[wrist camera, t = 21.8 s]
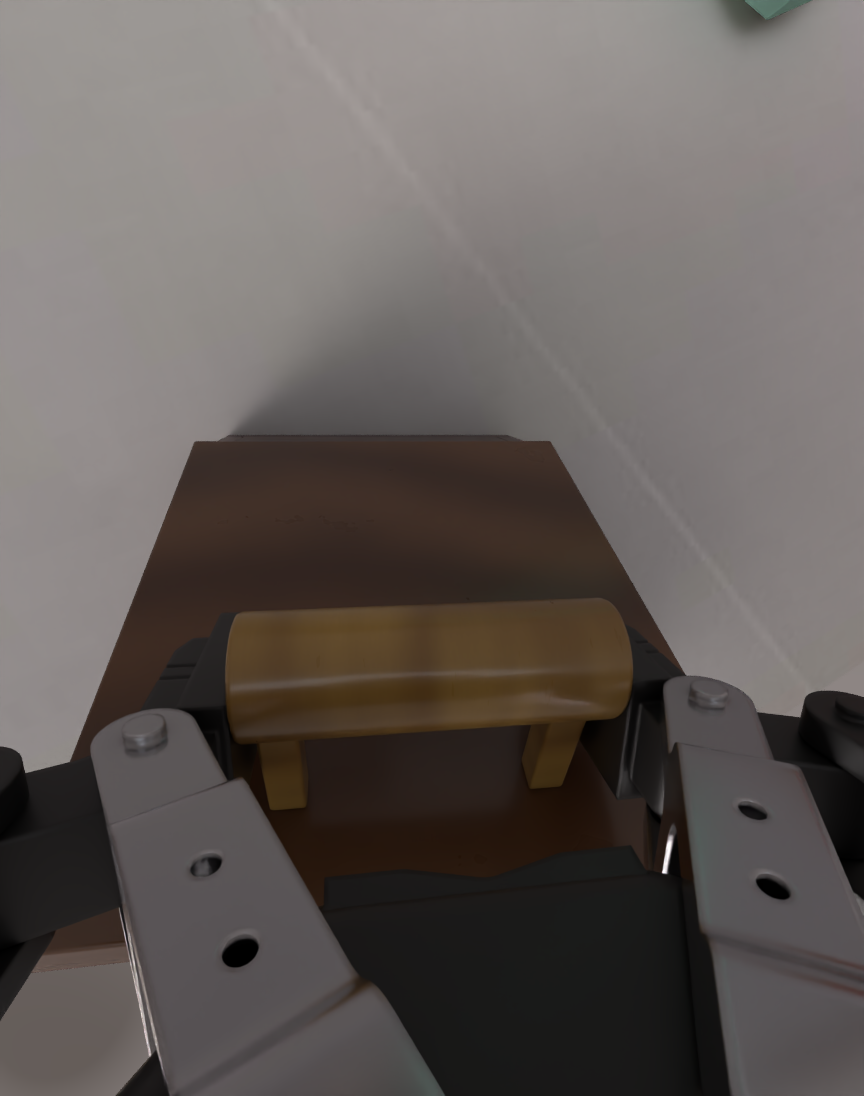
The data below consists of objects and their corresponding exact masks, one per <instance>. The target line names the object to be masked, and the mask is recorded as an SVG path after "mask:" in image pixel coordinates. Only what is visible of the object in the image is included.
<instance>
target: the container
mask: <svg viewBox="0 0 864 1096" xmlns="http://www.w3.org/2000/svg"><path fill="white" fill-rule="evenodd" d="M809 1H812V0H745V2H746V3H747V4H749V5H750V6H751V7H752V8H753V9H754V10H756V11H757V12H758V13H759V14H760V15H761V16H763V17H764V18H765V19H766V20H768V19H771V18H774V17H776V16H778V15H780V14H782V13H785V12H787V11H789V10H791V9H794V8H796V7H798V6H800V5H803V4H805V3H807V2H809Z"/></svg>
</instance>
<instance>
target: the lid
mask: <svg viewBox="0 0 864 1096" xmlns="http://www.w3.org/2000/svg"><path fill="white" fill-rule="evenodd" d="M233 612H241V613H238V614H237V615H236V616H235V618H234V621H233V623H232V626H231V629H230V633H229V638H228V645H227V653H226V666H225V699H226V710H227V718H228V724H229V728H230V732H231V735H232V737H233V740H234V741H235V742H236V743H238V744H241V745H243V744H257V752H256V757H255V761H254V766H253V770H252V775H251V780H250V784H249V787H250V789H251V791H252V793H253V794H254V796H255V798H256V800H257V801H258V803H259V805H260V807H261V808H262V810H263V812H264V814H265V815H266V817H267V819H268V821H269V822H270V824H271V826H272V827H273V829H274V831H275V833H276V834H277V836H278V838H279V840H280V841H281V843H282V845H283V847H284V848H285V850H286V852H287V854H288V855H289V857H290V859H291V861H292V862H293V864H294V866H295V868H296V869H297V871H298V873H299V875H300V876H301V878H302V880H303V882H304V883H305V885H306V887H307V889H308V890H309V892H310V894H311V895H312V897H313V899H314V901H315V902H316V904H317V906H318V907H319V906H322V905H324V878H325V877H332V876H341V875H351V874H360V873H370V872H379V871H389V870H398V869H410V870H419V871H428V872H437V873H446V874H456V875H465V876H474V877H492V876H496V875H499V874H502V873H504V872H507V871H510V870H513V869H515V868H518V867H521V866H524V865H527V864H529V863H532V862H535V861H538V860H540V859H543V858H546V857H549V856H552V855H554V854H557V853H560V852H569V851H579V850H589V849H598V848H608V847H617V846H627V845H631V846H632V848H633V849H634V851H635V853H636V854H637V856H638V858H639V859H640V861H641V863H642V864H643V866H644V846H643V818H644V812H645V805H646V801H645V799H644V798H634V799H623V800H617V799H616V797H615V796H614V794H613V793H612V791H611V790H610V788H609V786H608V785H607V783H606V782H605V780H604V778H603V777H602V775H601V774H600V772H599V770H598V769H597V767H596V766H595V764H594V763H593V761H592V759H591V758H590V756H589V755H588V753H587V751H586V750H585V748H584V747H583V745H582V744H581V742H580V740H579V739H580V736H581V733H582V731H583V728H584V725H585V723H586V721H590V720H605V719H614V718H616V717H618V716H620V715H621V714H622V713H623V712H624V710H625V709H626V707H627V705H628V702H629V700H630V696H631V691H632V684H633V659H632V651H631V645H630V641H629V636H628V633H627V630H626V627H625V624H626V625H628V626H630V627H632V628H634V629H636V630H637V631H638V632H639V633H640V634H641V635H642V636H643V637H644V638H646V639H647V640H648V643H651V644H652V645H653V646H654V647H656V648H657V649H658V650H659V653H662V654H663V655H664V656H665V657H667V658H668V659H669V660H670V661H671V662H672V663H673V664H674V665H675V666H677V667H678V668H679V669H680V670H681V671H682V672H683V673H684V671H683V670H682V668H681V666H680V665H679V663H678V661H677V659H676V658H675V656H674V654H673V652H672V651H671V649H670V647H669V646H668V644H667V642H666V640H665V639H664V637H663V635H662V633H661V632H660V630H659V628H658V627H657V625H656V623H655V621H654V620H653V618H652V616H651V614H650V613H649V611H648V609H647V608H646V606H645V604H644V602H643V601H642V599H641V597H640V595H639V594H638V592H637V590H636V589H635V587H634V585H633V583H632V582H631V580H630V578H629V576H628V575H627V573H626V571H625V569H624V568H623V566H622V564H621V563H620V561H619V559H618V557H617V556H616V554H615V552H614V550H613V549H612V547H611V545H610V544H609V542H608V540H607V538H606V537H605V535H604V533H603V531H602V530H601V528H600V526H599V525H598V523H597V521H596V519H595V518H594V516H593V514H592V512H591V511H590V509H589V507H588V506H587V504H586V502H585V500H584V499H583V497H582V495H581V493H580V492H579V490H578V488H577V487H576V485H575V483H574V481H573V480H572V478H571V476H570V474H569V473H568V471H567V469H566V468H565V466H564V464H563V462H562V461H561V459H560V457H559V455H558V454H557V452H556V450H555V449H554V447H553V445H552V443H551V442H550V441H196V442H194V445H193V447H192V450H191V452H190V455H189V458H188V460H187V463H186V465H185V468H184V470H183V473H182V476H181V478H180V481H179V483H178V486H177V488H176V491H175V493H174V496H173V499H172V501H171V504H170V506H169V509H168V511H167V514H166V517H165V519H164V522H163V524H162V527H161V529H160V532H159V535H158V537H157V540H156V542H155V545H154V547H153V550H152V553H151V555H150V558H149V560H148V563H147V565H146V568H145V570H144V573H143V576H142V578H141V581H140V583H139V586H138V588H137V591H136V594H135V596H134V599H133V601H132V604H131V606H130V609H129V612H128V614H127V617H126V619H125V622H124V624H123V627H122V629H121V632H120V635H119V637H118V640H117V642H116V645H115V647H114V650H113V653H112V655H111V658H110V660H109V663H108V665H107V668H106V671H105V673H104V676H103V678H102V681H101V683H100V686H99V689H98V691H97V694H96V696H95V699H94V701H93V704H92V706H91V709H90V712H89V714H88V717H87V719H86V722H85V724H84V727H83V730H82V732H81V735H80V737H79V740H78V742H77V745H76V748H75V750H74V753H73V755H72V758H71V760H70V762H72V761H75V760H79V759H82V758H84V757H87V756H90V755H91V752H90V746H91V743H92V741H93V739H94V737H95V736H96V735H97V734H98V733H99V732H100V731H101V730H102V729H103V728H105V727H106V726H107V725H109V724H110V723H112V722H114V721H116V720H118V719H120V718H122V717H125V716H127V715H130V714H133V713H136V712H139V711H140V710H141V708H142V706H143V705H144V703H145V701H146V699H147V698H148V696H149V694H150V693H151V691H152V689H153V687H154V686H155V684H156V682H157V680H159V679H160V678H159V677H160V675H161V674H162V672H163V670H164V668H166V665H167V663H168V661H169V660H170V658H171V656H172V655H173V653H174V651H175V650H177V649H178V648H179V647H181V646H182V645H184V644H185V643H187V642H188V641H189V640H191V639H192V638H204V637H210V634H211V632H212V630H213V628H214V626H215V624H216V622H217V620H218V618H219V616H220V614H221V613H233ZM684 674H685V673H684ZM123 962H130V959H129V954H128V950H127V945H126V940H125V935H124V931H123V926H122V921H121V916H120V912H119V908H116V909H113V910H110V911H108V912H105V913H102V914H99V915H97V916H94V917H91V918H88V919H86V920H83V921H80V922H77V923H74V924H72V925H69V926H66V927H63V928H61V929H58V930H56V932H55V935H54V937H53V939H52V940H51V942H50V944H49V946H48V947H47V949H46V950H45V952H44V953H43V955H42V956H41V958H40V960H39V961H38V963H37V964H36V966H35V967H34V969H33V970H32V972H31V973H36V972H45V971H53V970H62V969H71V968H79V967H88V966H97V965H105V964H114V963H123Z"/></svg>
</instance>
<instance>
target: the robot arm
mask: <svg viewBox="0 0 864 1096" xmlns="http://www.w3.org/2000/svg"><path fill="white" fill-rule="evenodd" d="M238 613H241V612H233V613H221V614H220V616H219V618H218V620H217V622H216V624H215V626H214V628H213V630H212V632H211V634H210V637H204V638H192V639H191V640H189V641H188V642H187V643H185V644H184V645H182V646H181V647H179V648H178V649H177V650H175V651H174V653H173V655H172V656H171V658H170V660H169V661H168V663H167V665H166V668H164V670H163V672H162V674H161V675H160V677H159V678H160V679H159V680H157V682H156V684H155V686H154V687H153V689H152V691H151V693H150V694H149V696H148V698H147V699H146V701H145V703H144V705H143V706H142V708H141V710H140V711H139V712H136V713H133V714H130V715H127V716H125V717H122V718H120V719H118V720H116V721H114V722H112V723H110V724H109V725H107V726H106V727H105V728H103V729H102V730H101V731H100V732H99V733H98V734H97V735H96V736H95V737H94V739H93V741H92V743H91V746H90V752H91V755H90V756H87V757H84V758H82V759H79V760H75V761H72V762H68V763H64V764H60V765H56V766H53V767H49V768H45V769H41V770H37V771H33V772H29V773H25V770H24V766H23V761H22V757H21V756H20V754H19V753H18V752H17V751H15V750H13V749H11V748H7V747H0V1020H1V1018H2V1017H3V1015H4V1014H5V1012H6V1011H7V1009H8V1008H9V1006H10V1005H11V1003H12V1001H13V1000H14V998H15V997H16V995H17V994H18V992H19V991H20V989H21V988H22V986H23V984H24V983H25V981H26V980H27V978H28V976H29V975H30V973H31V972H32V970H33V969H34V967H35V966H36V964H37V963H38V961H39V960H40V958H41V956H42V955H43V953H44V952H45V950H46V949H47V947H48V946H49V944H50V942H51V940H52V939H53V937H54V935H55V932H56V930H58V929H61V928H63V927H66V926H69V925H72V924H74V923H77V922H80V921H83V920H86V919H88V918H91V917H94V916H97V915H99V914H102V913H105V912H108V911H110V910H113V909H116V908H119V912H120V916H121V921H122V926H123V931H124V935H125V940H126V945H127V950H128V954H129V959H130V964H131V968H132V973H133V978H134V983H135V987H136V992H137V997H138V1002H139V1007H140V1011H141V1016H142V1021H143V1027H144V1032H145V1036H146V1042H147V1047H148V1052H149V1058H148V1059H147V1061H146V1062H145V1063H144V1064H143V1065H142V1066H141V1068H140V1069H139V1070H138V1071H137V1072H136V1073H135V1074H134V1075H133V1077H132V1078H131V1079H130V1080H129V1081H128V1082H127V1083H126V1085H125V1086H124V1087H123V1088H122V1089H121V1090H120V1091H119V1092H118V1094H117V1095H116V1096H864V697H861V696H858V695H854V694H849V693H844V692H838V691H817V692H812V693H810V694H808V695H807V696H806V698H805V700H804V705H803V709H802V713H801V717H800V718H799V717H792V716H784V715H775V714H767V713H759V712H757V711H756V708H755V705H754V703H753V701H752V700H751V699H750V697H749V696H747V695H746V694H745V693H744V692H742V691H741V690H739V689H738V688H736V687H734V686H732V685H730V684H727V683H725V682H722V681H719V680H715V679H712V678H707V677H701V676H686V675H685V674H684V673H683V672H682V671H681V670H680V669H679V668H678V667H677V666H675V665H674V664H673V663H672V662H671V661H670V660H669V659H668V658H667V657H665V656H664V655H663V654H662V653H659V650H658V649H657V648H656V647H654V646H653V645H652V644H651V643H648V640H647V639H646V638H644V637H643V636H642V635H641V634H640V633H639V632H638V631H637V630H636V629H634V628H632V627H630V626H628V625H626V624H625V627H626V630H627V633H628V636H629V641H630V645H631V651H632V659H633V684H632V691H631V696H630V700H629V702H628V705H627V707H626V709H625V710H624V712H623V713H622V714H621V715H620V716H618V717H616V718H614V719H605V720H590V721H586V723H585V725H584V728H583V731H582V733H581V736H580V739H579V740H580V742H581V744H582V745H583V747H584V748H585V750H586V751H587V753H588V755H589V756H590V758H591V759H592V761H593V763H594V764H595V766H596V767H597V769H598V770H599V772H600V774H601V775H602V777H603V778H604V780H605V782H606V783H607V785H608V786H609V788H610V790H611V791H612V793H613V794H614V796H615V797H616V799H617V800H623V799H634V798H644V799H645V801H646V805H645V812H644V818H643V846H644V866H643V864H642V863H641V861H640V859H639V858H638V856H637V854H636V853H635V851H634V849H633V848H632V846H631V845H627V846H617V847H608V848H598V849H589V850H579V851H569V852H560V853H557V854H554V855H552V856H549V857H546V858H543V859H540V860H538V861H535V862H532V863H529V864H527V865H524V866H521V867H518V868H515V869H513V870H510V871H507V872H504V873H502V874H499V875H496V876H492V877H474V876H465V875H456V874H446V873H437V872H428V871H419V870H410V869H398V870H389V871H379V872H370V873H360V874H351V875H341V876H332V877H325V878H324V905H322V906H319V907H318V906H317V904H316V902H315V901H314V899H313V897H312V895H311V894H310V892H309V890H308V889H307V887H306V885H305V883H304V882H303V880H302V878H301V876H300V875H299V873H298V871H297V869H296V868H295V866H294V864H293V862H292V861H291V859H290V857H289V855H288V854H287V852H286V850H285V848H284V847H283V845H282V843H281V841H280V840H279V838H278V836H277V834H276V833H275V831H274V829H273V827H272V826H271V824H270V822H269V821H268V819H267V817H266V815H265V814H264V812H263V810H262V808H261V807H260V805H259V803H258V801H257V800H256V798H255V796H254V794H253V793H252V791H251V789H250V787H249V784H250V780H251V775H252V770H253V766H254V761H255V757H256V752H257V744H243V745H241V744H238V743H236V742H235V741H234V740H233V737H232V735H231V732H230V728H229V724H228V718H227V710H226V699H225V666H226V653H227V645H228V638H229V633H230V629H231V626H232V623H233V621H234V618H235V616H236V615H237V614H238Z"/></svg>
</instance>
